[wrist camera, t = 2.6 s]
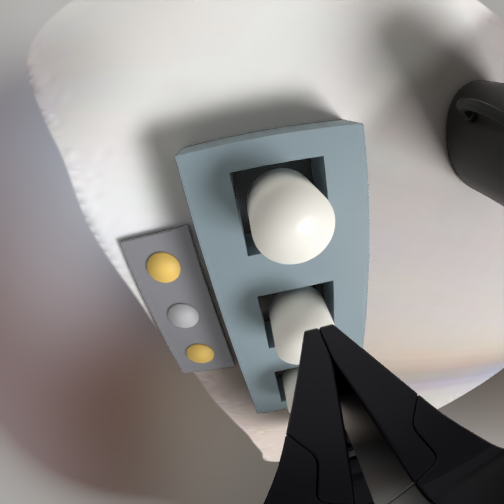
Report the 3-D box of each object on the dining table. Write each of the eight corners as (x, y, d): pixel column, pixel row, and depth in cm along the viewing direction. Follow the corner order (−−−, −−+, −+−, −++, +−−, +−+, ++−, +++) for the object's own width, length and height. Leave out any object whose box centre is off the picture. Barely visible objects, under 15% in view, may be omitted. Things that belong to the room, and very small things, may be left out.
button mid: (324, 321, 22) (337, 356, 18) (272, 333, 22) (279, 369, 19) (322, 279, 20) (338, 313, 16) (264, 291, 20) (271, 328, 17)
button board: (348, 369, 28) (356, 391, 26) (254, 390, 28) (257, 413, 26) (343, 119, 16) (363, 123, 14) (183, 147, 17) (174, 156, 14)
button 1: (317, 226, 18) (337, 255, 15) (253, 239, 18) (259, 271, 15) (310, 162, 16) (331, 178, 13) (240, 175, 16) (243, 195, 13)
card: (234, 363, 26) (234, 367, 25) (183, 370, 26) (183, 374, 26) (188, 224, 19) (187, 228, 19) (121, 240, 19) (119, 244, 19)
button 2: (325, 380, 25) (335, 411, 22) (284, 389, 26) (290, 421, 22) (325, 354, 24) (336, 387, 20) (279, 365, 24) (286, 399, 20)
